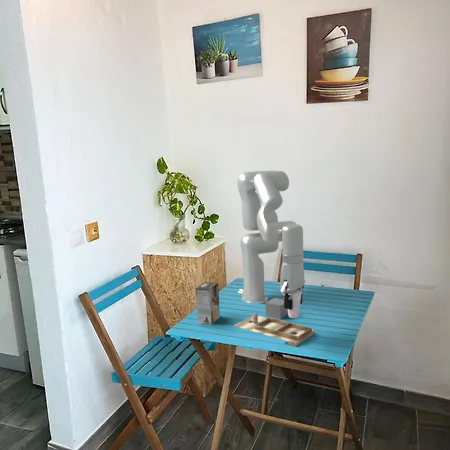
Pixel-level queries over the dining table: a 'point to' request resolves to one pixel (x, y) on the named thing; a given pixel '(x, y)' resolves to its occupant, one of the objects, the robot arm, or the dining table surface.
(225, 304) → the dining table surface
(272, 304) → the gray cube
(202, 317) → the coffee box
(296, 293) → the smoothie
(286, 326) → the board
